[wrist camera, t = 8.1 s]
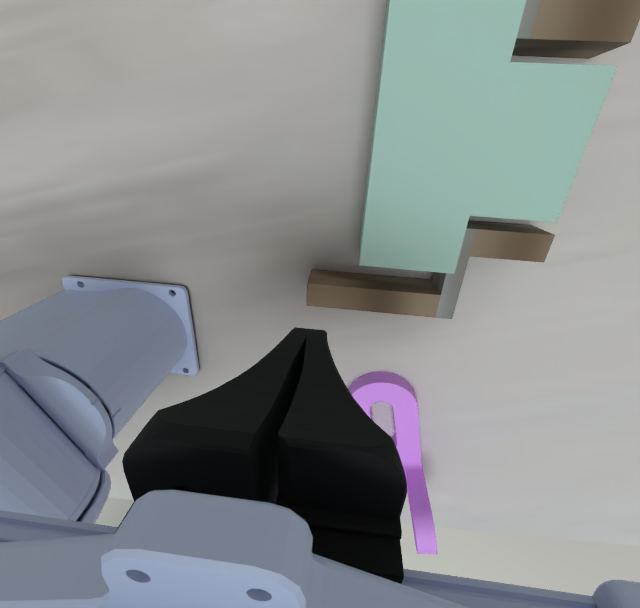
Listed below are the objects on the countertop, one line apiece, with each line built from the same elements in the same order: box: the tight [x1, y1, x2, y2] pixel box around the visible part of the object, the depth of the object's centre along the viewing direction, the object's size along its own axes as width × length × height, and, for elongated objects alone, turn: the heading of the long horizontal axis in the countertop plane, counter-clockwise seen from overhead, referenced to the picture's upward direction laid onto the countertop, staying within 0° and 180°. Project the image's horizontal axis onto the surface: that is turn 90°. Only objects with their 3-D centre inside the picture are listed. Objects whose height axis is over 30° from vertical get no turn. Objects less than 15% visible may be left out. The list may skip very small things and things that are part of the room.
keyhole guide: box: [307, 0, 640, 319], centre depth 16 cm, size 13×19×2 cm
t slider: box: [359, 0, 617, 274], centre depth 16 cm, size 9×12×4 cm
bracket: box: [348, 372, 437, 554], centre depth 24 cm, size 13×6×7 cm, turn 10°
